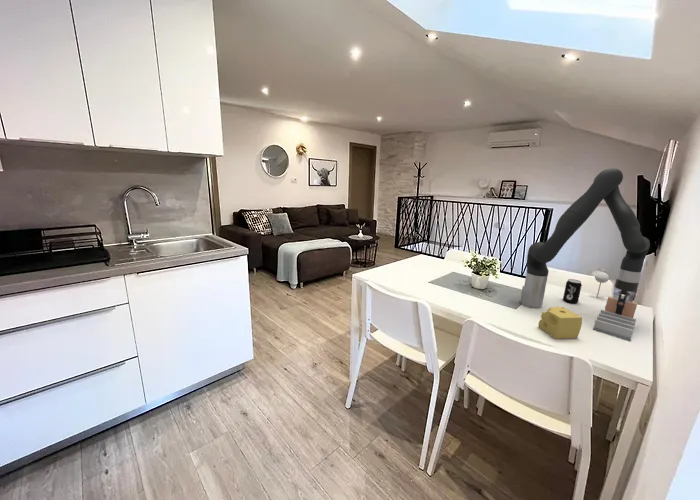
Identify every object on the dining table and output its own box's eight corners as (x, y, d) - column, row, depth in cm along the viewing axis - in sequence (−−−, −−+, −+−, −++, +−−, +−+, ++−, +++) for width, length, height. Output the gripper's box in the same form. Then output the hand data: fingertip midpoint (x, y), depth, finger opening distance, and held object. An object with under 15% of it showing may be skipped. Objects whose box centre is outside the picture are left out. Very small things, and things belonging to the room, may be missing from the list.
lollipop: (600, 300, 157) (606, 274, 154) (588, 296, 162) (593, 271, 159) (606, 298, 160) (612, 273, 156) (593, 294, 165) (599, 270, 161)
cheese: (537, 327, 129) (541, 306, 126) (559, 326, 130) (564, 306, 127) (555, 339, 119) (560, 318, 116) (579, 339, 119) (584, 317, 117)
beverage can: (580, 304, 152) (585, 283, 149) (566, 303, 153) (570, 282, 150) (573, 299, 158) (578, 279, 155) (560, 298, 160) (564, 278, 157)
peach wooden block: (631, 324, 132) (636, 304, 129) (603, 316, 139) (607, 297, 137) (631, 322, 134) (637, 303, 131) (603, 315, 141) (608, 296, 138)
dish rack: (630, 341, 118) (632, 331, 117) (592, 329, 127) (595, 320, 126) (633, 327, 129) (636, 318, 128) (599, 317, 138) (601, 309, 137)
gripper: (638, 285, 124) (628, 319, 128) (640, 278, 133) (631, 309, 137) (614, 280, 129) (606, 313, 133) (618, 274, 139) (611, 304, 143)
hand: (619, 311), depth 135 cm, fingers open, 8 cm apart
